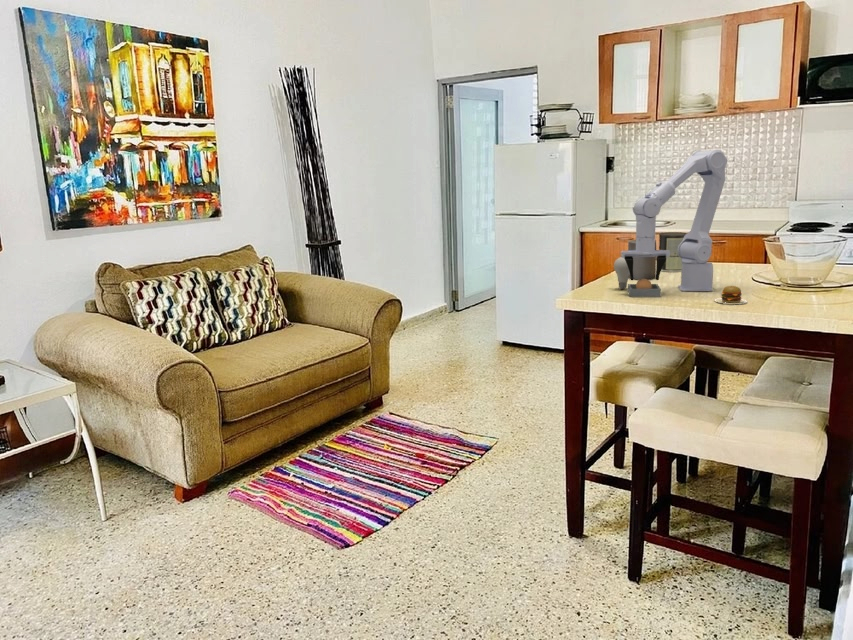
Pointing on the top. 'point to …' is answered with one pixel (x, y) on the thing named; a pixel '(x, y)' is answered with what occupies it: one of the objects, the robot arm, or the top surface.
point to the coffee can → (671, 250)
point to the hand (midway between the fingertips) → (644, 279)
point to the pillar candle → (642, 264)
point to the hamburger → (731, 295)
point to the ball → (643, 284)
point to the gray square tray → (644, 291)
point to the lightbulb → (621, 272)
